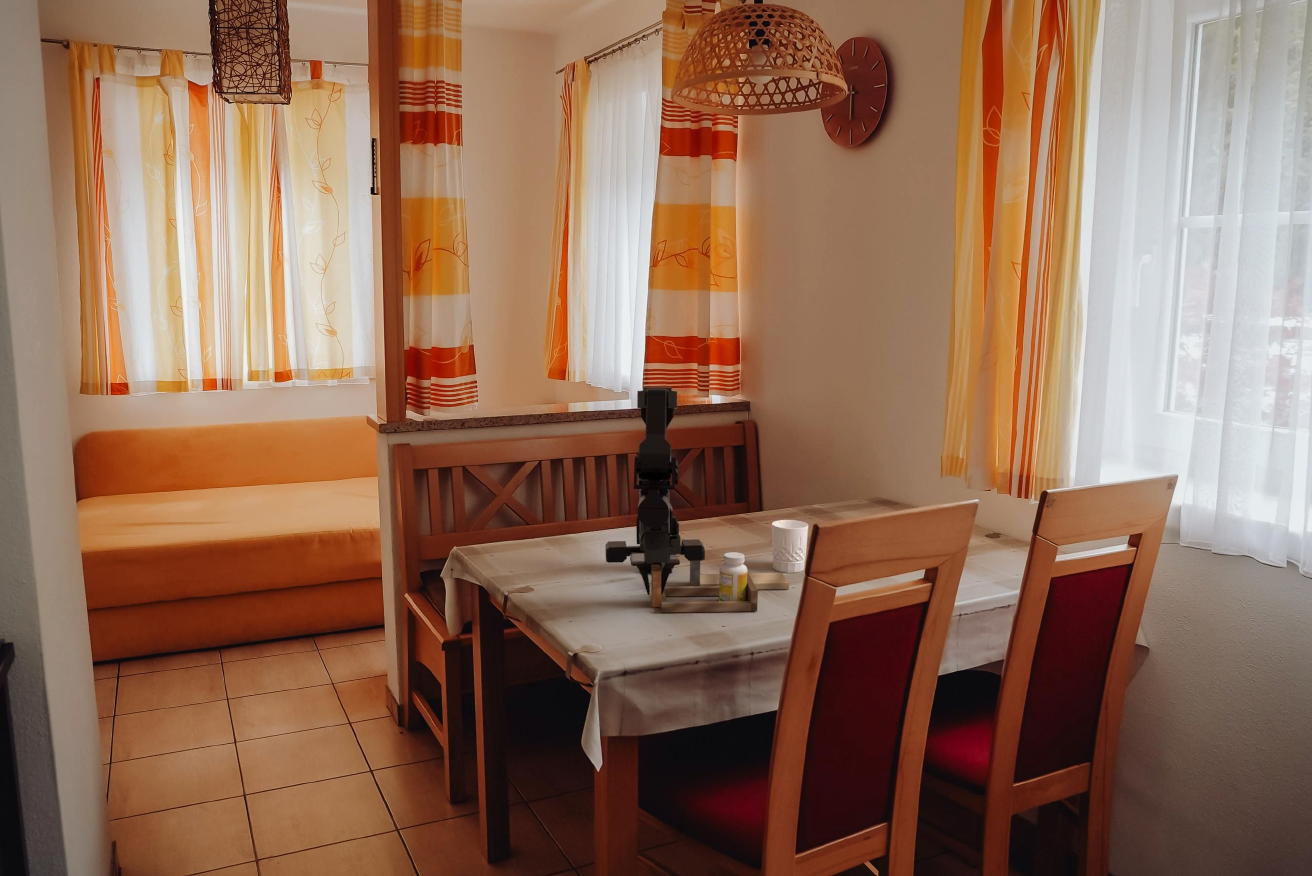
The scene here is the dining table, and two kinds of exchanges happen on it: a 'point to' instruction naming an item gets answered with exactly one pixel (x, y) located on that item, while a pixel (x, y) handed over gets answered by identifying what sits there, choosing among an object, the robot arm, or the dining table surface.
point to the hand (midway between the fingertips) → (654, 594)
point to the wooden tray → (706, 606)
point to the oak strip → (758, 578)
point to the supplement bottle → (733, 578)
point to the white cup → (789, 545)
